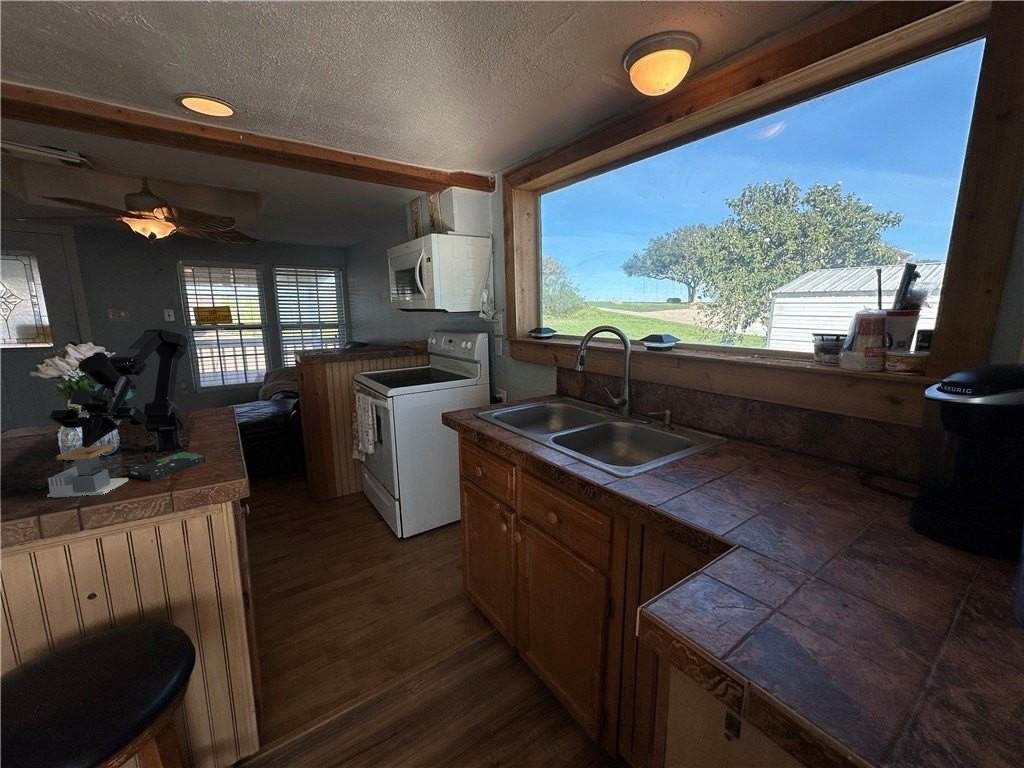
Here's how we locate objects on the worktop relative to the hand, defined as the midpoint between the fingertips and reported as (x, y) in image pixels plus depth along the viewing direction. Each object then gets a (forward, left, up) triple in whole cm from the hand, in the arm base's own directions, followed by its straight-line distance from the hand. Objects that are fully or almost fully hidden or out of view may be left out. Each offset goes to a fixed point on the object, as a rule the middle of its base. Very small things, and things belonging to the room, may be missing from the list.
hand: (85, 446), depth 103 cm
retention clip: (0, 0, -7) cm, 7 cm away
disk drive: (-7, +15, -13) cm, 21 cm away
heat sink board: (-2, -1, -12) cm, 12 cm away
